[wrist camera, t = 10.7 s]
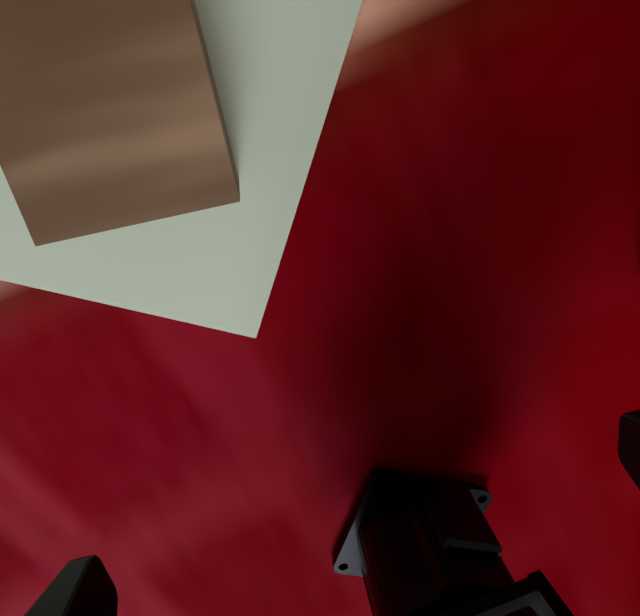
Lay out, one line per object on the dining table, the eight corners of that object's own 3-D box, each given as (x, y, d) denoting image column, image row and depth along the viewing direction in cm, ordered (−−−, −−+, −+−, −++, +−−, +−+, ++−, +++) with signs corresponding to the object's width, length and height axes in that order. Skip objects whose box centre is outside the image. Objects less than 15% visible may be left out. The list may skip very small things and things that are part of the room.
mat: (255, 333, 22) (255, 338, 21) (-177, 234, 18) (-186, 237, 18) (410, -159, 16) (414, -165, 16) (-177, -461, 12) (-190, -478, 12)
